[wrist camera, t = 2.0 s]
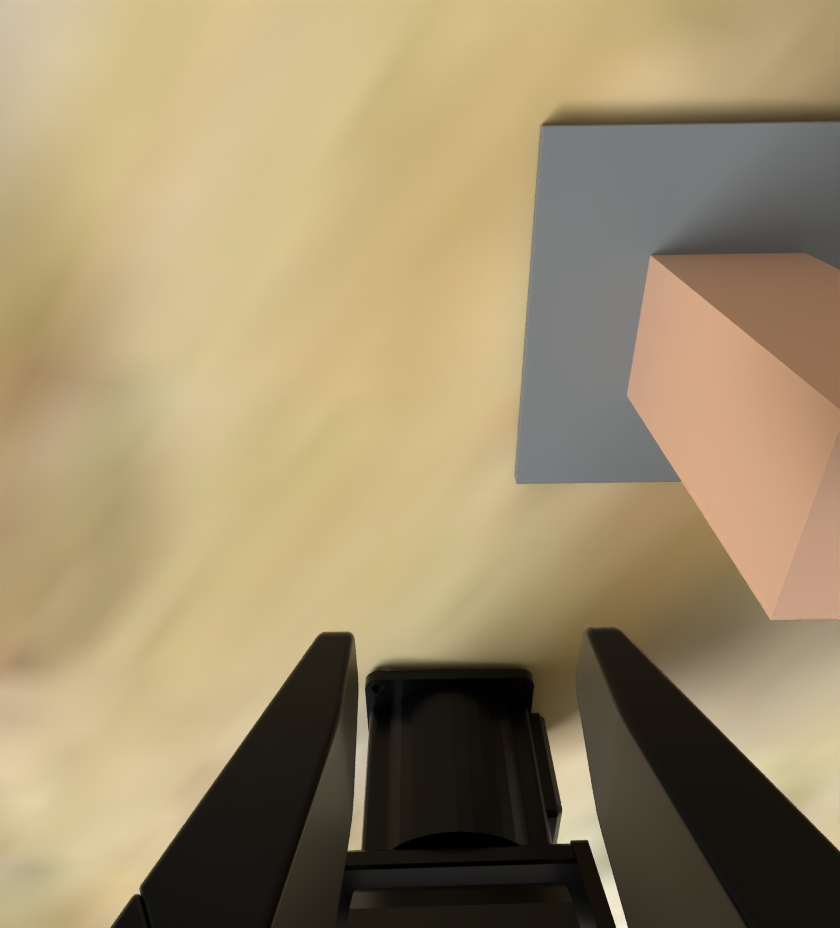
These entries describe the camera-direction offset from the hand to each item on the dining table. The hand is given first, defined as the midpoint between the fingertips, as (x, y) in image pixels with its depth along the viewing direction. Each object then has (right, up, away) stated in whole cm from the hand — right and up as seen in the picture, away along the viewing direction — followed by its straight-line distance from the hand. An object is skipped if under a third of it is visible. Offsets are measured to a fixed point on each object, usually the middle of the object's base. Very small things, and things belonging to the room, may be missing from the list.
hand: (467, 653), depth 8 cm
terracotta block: (+7, +6, +10) cm, 14 cm away
